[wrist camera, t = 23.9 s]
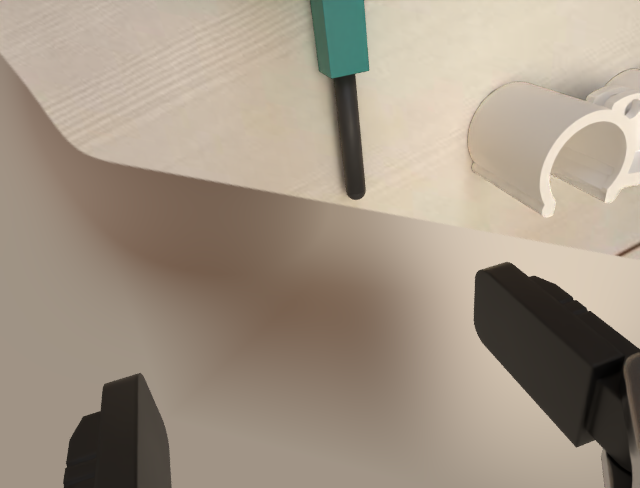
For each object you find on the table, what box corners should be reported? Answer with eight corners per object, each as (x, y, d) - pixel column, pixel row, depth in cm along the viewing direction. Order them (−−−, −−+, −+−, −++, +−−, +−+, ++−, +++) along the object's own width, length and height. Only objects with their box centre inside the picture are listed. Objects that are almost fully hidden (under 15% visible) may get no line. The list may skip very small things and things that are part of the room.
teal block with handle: (366, 188, 54) (379, 201, 51) (334, 196, 54) (346, 210, 51) (345, -45, 43) (360, -46, 40) (305, -39, 42) (317, -39, 39)
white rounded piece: (663, 58, 58) (773, 78, 48) (642, 139, 63) (738, 173, 53) (471, 88, 53) (550, 118, 42) (464, 175, 58) (533, 221, 47)
